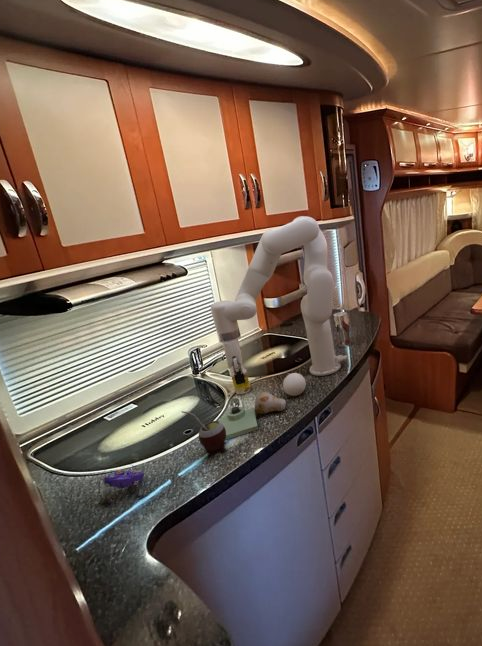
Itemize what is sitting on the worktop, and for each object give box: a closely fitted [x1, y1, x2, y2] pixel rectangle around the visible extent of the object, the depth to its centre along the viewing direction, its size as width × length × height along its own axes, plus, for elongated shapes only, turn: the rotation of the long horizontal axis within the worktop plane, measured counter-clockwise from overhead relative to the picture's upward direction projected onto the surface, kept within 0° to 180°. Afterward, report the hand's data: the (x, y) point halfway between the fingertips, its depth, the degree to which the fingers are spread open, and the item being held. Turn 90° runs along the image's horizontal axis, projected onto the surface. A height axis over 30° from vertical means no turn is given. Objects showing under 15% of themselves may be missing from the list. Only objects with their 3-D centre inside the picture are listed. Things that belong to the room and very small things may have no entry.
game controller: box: [98, 462, 145, 505], centre depth 95 cm, size 10×8×10 cm
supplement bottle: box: [230, 364, 252, 395], centre depth 139 cm, size 6×6×10 cm
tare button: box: [230, 405, 240, 414], centre depth 121 cm, size 2×2×2 cm
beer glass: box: [332, 311, 352, 348], centre depth 171 cm, size 7×7×15 cm
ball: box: [282, 372, 307, 397], centre depth 132 cm, size 8×8×8 cm
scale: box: [218, 406, 259, 441], centre depth 118 cm, size 11×13×3 cm
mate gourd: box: [181, 410, 227, 458], centre depth 105 cm, size 8×8×15 cm
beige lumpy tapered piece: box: [254, 391, 287, 415], centre depth 123 cm, size 8×10×10 cm
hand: (240, 379), depth 139 cm, fingers open, 6 cm apart
